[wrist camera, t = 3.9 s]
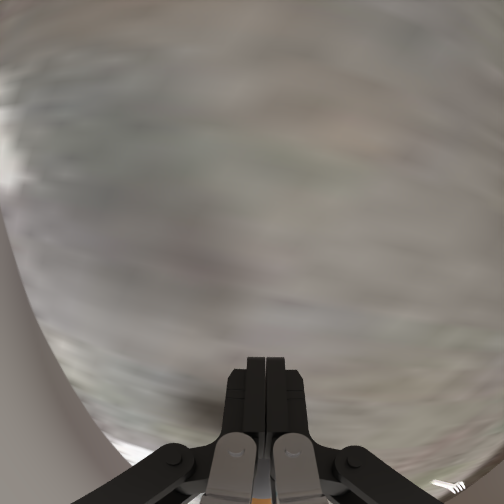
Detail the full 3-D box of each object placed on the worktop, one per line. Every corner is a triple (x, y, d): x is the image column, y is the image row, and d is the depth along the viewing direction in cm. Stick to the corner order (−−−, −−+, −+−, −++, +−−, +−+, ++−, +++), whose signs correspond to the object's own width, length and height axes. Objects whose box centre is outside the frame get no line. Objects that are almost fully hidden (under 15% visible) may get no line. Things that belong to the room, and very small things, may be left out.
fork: (440, 473, 27) (443, 482, 26) (465, 480, 33) (467, 487, 31) (421, 482, 28) (423, 492, 27) (451, 487, 34) (453, 494, 32)
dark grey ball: (235, 400, 17) (226, 479, 12) (317, 413, 17) (324, 487, 12) (218, 437, 19) (209, 500, 14) (287, 448, 20) (288, 508, 15)
